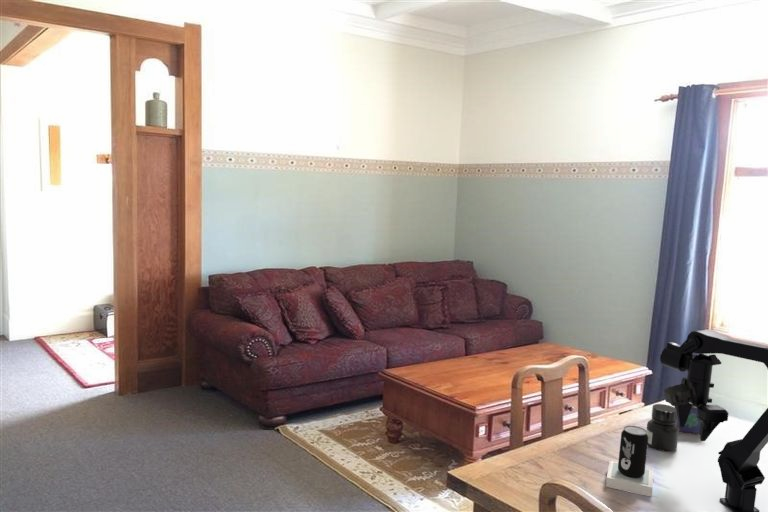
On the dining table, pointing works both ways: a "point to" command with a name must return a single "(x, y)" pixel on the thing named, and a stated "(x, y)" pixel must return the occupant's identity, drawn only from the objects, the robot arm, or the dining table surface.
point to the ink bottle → (663, 428)
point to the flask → (690, 423)
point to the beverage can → (633, 451)
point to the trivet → (629, 481)
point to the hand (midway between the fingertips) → (692, 433)
